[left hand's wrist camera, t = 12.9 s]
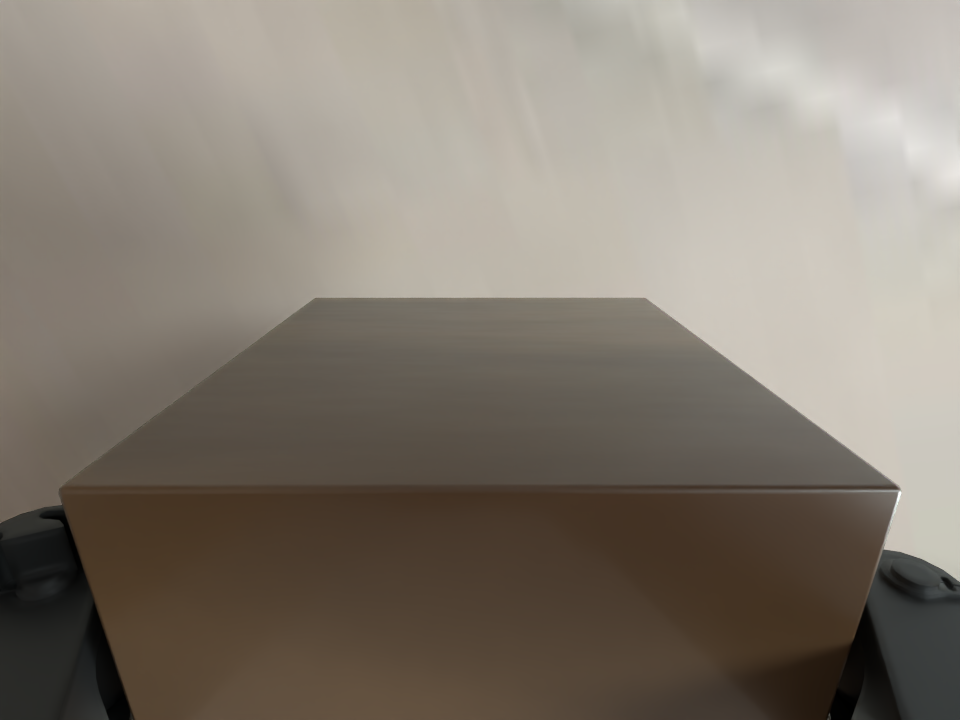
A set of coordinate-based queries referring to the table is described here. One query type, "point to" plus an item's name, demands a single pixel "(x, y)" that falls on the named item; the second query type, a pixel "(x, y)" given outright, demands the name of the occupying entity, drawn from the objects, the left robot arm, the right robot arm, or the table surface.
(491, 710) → the box
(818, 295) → the table surface
